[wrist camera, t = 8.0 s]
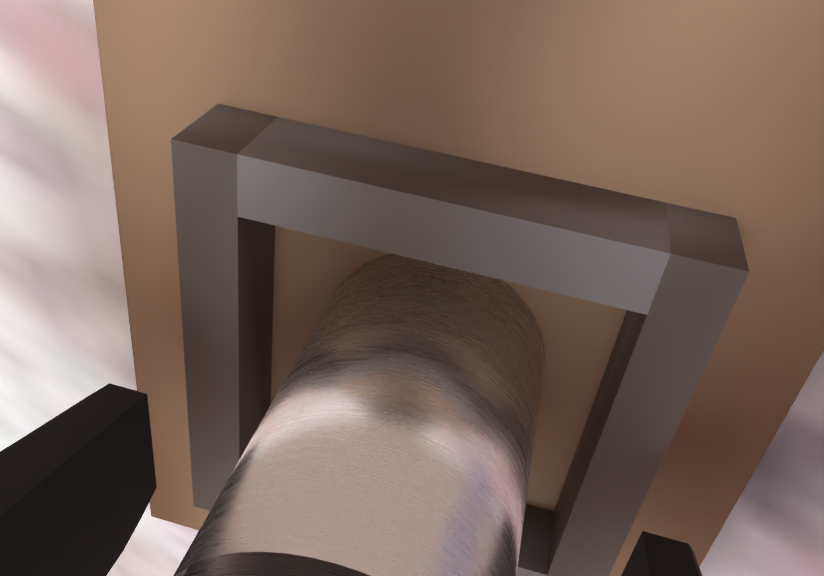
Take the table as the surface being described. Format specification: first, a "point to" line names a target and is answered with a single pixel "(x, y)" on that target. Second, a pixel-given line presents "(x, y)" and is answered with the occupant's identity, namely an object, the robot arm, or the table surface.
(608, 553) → the dock board
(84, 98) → the table surface
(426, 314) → the metal cylinder
